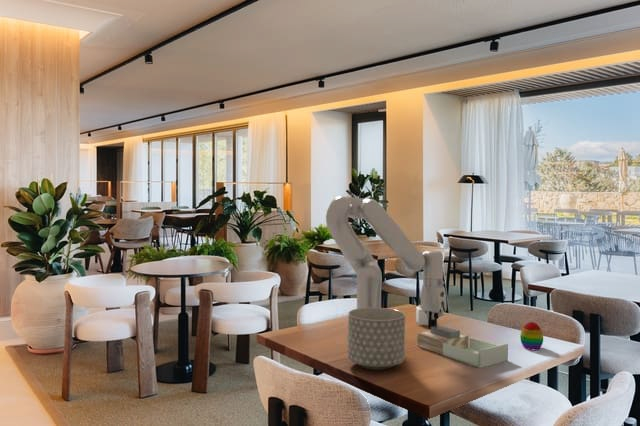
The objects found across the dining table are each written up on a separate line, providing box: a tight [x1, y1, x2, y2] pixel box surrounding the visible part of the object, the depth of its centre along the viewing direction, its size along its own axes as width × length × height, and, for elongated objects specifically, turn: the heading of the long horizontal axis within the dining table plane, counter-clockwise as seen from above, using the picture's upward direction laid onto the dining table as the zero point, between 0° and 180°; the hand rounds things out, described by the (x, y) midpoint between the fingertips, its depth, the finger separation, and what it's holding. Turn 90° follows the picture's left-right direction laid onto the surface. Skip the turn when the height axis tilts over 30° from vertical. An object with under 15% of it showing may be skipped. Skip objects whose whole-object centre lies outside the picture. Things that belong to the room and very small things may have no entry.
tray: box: [442, 336, 509, 369], centre depth 185 cm, size 15×17×6 cm
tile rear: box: [430, 324, 450, 336], centre depth 199 cm, size 5×5×2 cm
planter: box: [347, 307, 406, 371], centre depth 175 cm, size 19×19×18 cm
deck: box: [417, 330, 470, 356], centre depth 198 cm, size 14×13×5 cm
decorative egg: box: [519, 321, 544, 350], centre depth 198 cm, size 8×8×10 cm
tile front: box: [441, 327, 461, 339], centre depth 195 cm, size 5×5×2 cm
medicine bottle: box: [415, 296, 428, 326], centre depth 235 cm, size 7×7×12 cm
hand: (432, 328), depth 203 cm, fingers closed
